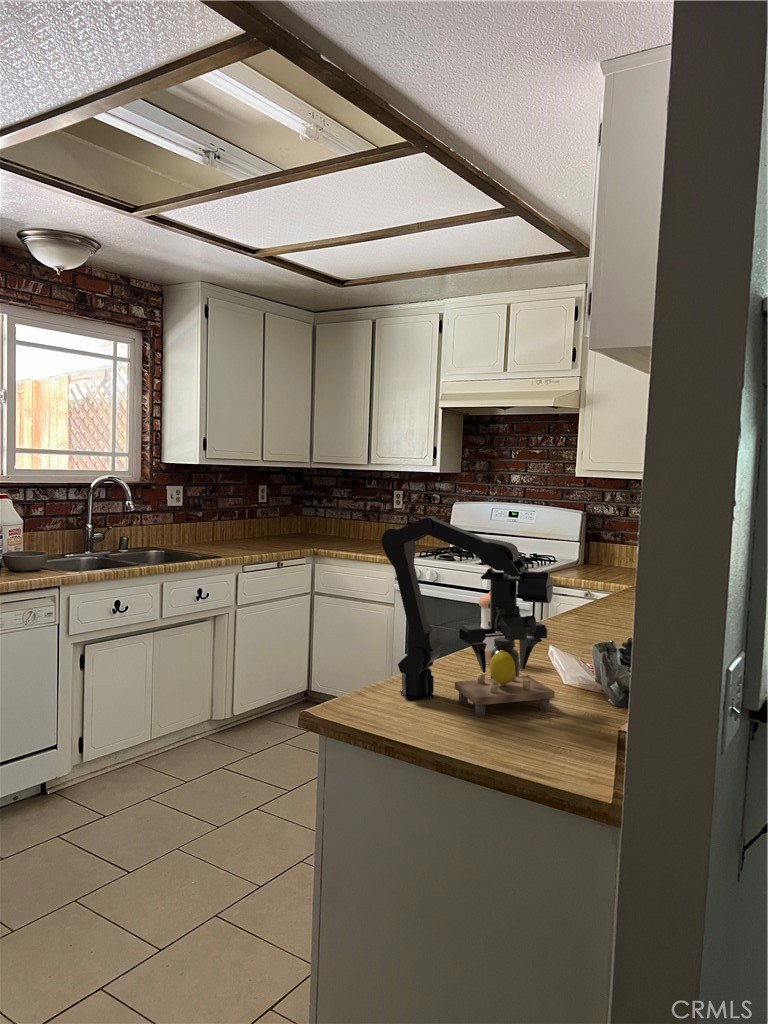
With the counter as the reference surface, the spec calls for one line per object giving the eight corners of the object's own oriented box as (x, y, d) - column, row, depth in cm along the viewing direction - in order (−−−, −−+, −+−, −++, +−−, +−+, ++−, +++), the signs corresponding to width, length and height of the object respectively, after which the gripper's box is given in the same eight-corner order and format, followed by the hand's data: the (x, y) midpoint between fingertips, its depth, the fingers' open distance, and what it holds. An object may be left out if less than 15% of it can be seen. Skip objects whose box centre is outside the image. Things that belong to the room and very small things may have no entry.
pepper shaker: (504, 658, 213) (504, 589, 212) (505, 665, 205) (505, 594, 204) (477, 658, 213) (477, 589, 212) (478, 664, 206) (478, 593, 205)
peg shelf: (476, 719, 161) (476, 688, 161) (454, 701, 173) (454, 673, 173) (554, 711, 165) (554, 682, 165) (528, 694, 178) (528, 667, 178)
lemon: (498, 681, 173) (497, 646, 173) (520, 684, 170) (519, 649, 169) (485, 687, 169) (484, 651, 168) (507, 691, 165) (506, 654, 165)
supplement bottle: (497, 683, 188) (497, 634, 188) (523, 687, 185) (523, 637, 184) (485, 690, 182) (485, 640, 182) (513, 694, 179) (513, 643, 178)
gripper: (477, 608, 158) (477, 683, 159) (559, 604, 163) (559, 677, 164) (458, 600, 169) (458, 670, 170) (536, 596, 173) (536, 664, 174)
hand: (503, 670), depth 169 cm, fingers open, 9 cm apart
